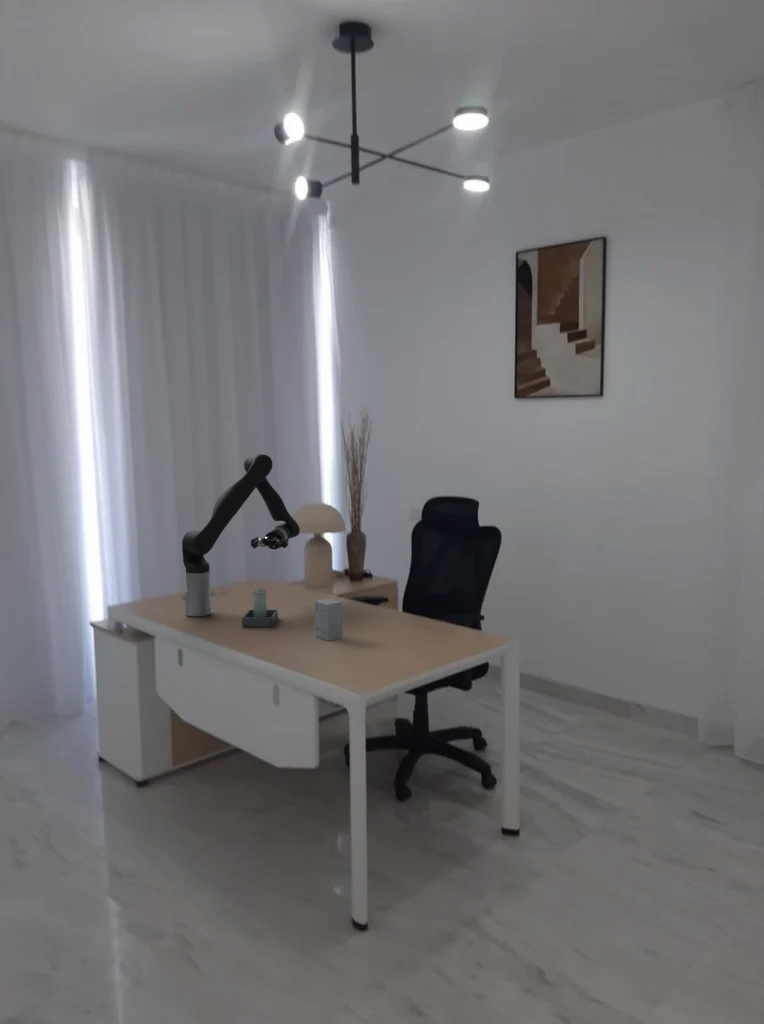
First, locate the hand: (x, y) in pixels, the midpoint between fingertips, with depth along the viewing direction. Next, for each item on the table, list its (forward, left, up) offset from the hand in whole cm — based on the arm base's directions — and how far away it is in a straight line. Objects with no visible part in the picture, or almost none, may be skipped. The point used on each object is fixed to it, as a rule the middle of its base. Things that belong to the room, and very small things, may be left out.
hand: (264, 546), depth 314 cm
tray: (0, -12, -27) cm, 30 cm away
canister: (0, -12, -27) cm, 29 cm away
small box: (+28, -33, -28) cm, 51 cm away
